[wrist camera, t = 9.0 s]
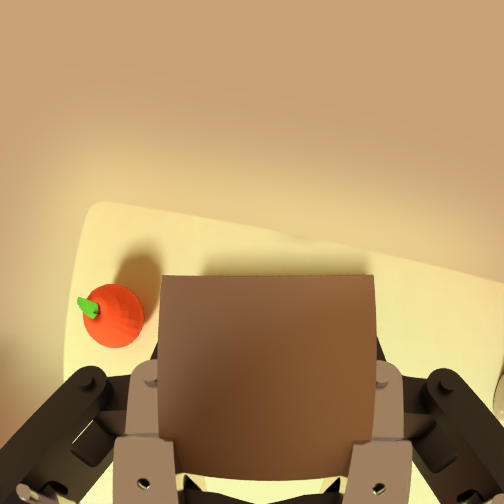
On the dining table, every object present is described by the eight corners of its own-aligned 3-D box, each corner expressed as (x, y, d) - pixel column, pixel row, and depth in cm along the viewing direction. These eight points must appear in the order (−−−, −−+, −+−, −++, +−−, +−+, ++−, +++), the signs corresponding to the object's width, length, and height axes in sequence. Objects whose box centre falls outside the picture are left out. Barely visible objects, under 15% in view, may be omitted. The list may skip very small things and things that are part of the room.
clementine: (92, 329, 29) (56, 324, 22) (110, 279, 31) (76, 263, 24) (142, 357, 28) (109, 360, 21) (162, 303, 30) (133, 292, 23)
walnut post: (306, 316, 14) (373, 274, 5) (306, 389, 13) (366, 471, 4) (232, 316, 15) (162, 275, 5) (231, 388, 13) (161, 468, 4)
